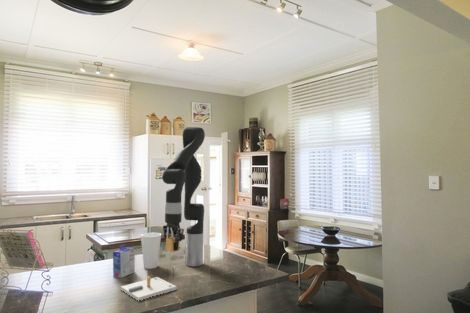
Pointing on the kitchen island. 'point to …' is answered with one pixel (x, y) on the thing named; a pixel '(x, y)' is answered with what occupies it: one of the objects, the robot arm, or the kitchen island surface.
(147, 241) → the cup
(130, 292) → the plate
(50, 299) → the kitchen island surface
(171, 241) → the cube with dome knob
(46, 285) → the kitchen island surface
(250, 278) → the kitchen island surface
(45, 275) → the kitchen island surface
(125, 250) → the ink cartridge box
